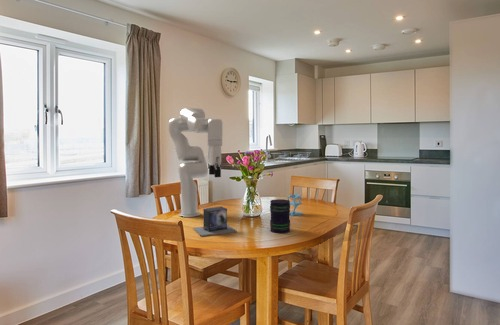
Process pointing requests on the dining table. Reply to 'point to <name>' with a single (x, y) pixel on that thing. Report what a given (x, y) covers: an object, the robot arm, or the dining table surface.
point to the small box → (215, 218)
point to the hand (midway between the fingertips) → (214, 175)
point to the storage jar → (280, 216)
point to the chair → (295, 204)
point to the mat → (223, 231)
